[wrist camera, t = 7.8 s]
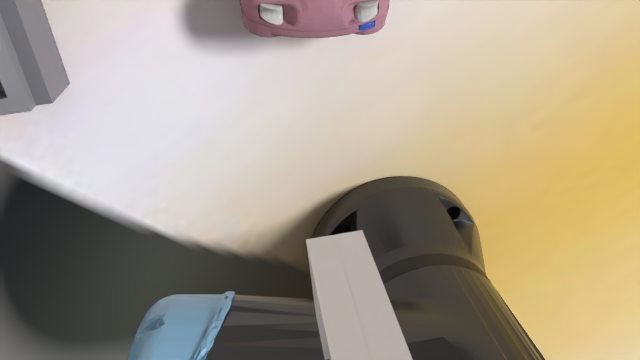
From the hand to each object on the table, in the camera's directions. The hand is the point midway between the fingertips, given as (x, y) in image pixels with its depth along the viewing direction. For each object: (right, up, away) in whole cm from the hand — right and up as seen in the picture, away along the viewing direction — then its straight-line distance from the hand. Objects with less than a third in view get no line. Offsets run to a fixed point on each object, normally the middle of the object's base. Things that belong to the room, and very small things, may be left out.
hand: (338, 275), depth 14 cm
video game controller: (-1, +16, +22) cm, 27 cm away
